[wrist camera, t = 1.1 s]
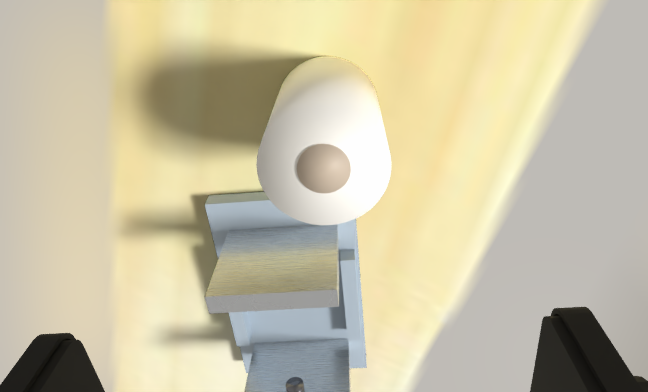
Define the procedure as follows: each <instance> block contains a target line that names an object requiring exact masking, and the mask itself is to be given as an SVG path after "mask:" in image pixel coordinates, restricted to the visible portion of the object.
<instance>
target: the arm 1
mask: <svg viewBox="0 0 648 392" xmlns="http://www.w3.org/2000/svg"><path fill="white" fill-rule="evenodd" d="M205 300H206V304H207V307H208V311H209V314H210V313H229V312H248V311H267V310H286V309H305V308H324V307H339V233H338V224H336V225H314V224H312V225H297V226H282V227H266V228H251V229H235V230H229V231H228V234H227V237H226V239H225V242H224V245H223V248H222V250H221V253H220V256H219V259H218V261H217V264H216V267H215V270H214V272H213V275H212V278H211V281H210V284H209V286H208V289H207V292H206V295H205Z"/></svg>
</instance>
